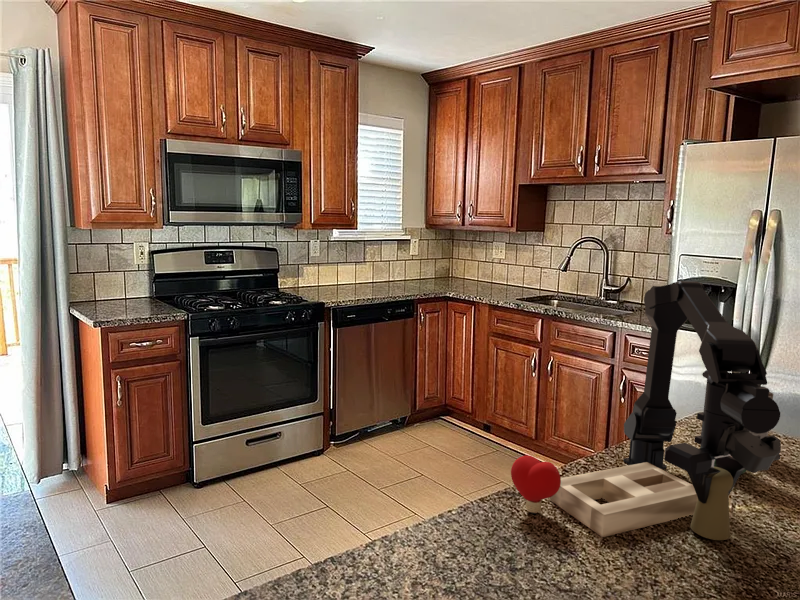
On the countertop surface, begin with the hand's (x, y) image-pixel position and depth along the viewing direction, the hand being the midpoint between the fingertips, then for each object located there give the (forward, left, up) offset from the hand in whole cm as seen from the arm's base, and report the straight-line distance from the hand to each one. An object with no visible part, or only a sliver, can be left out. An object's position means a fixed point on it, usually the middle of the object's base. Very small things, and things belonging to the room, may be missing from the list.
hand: (713, 499), depth 100 cm
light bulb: (-17, -24, -7) cm, 30 cm away
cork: (0, 0, -6) cm, 6 cm away
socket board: (-13, -6, -6) cm, 16 cm away
